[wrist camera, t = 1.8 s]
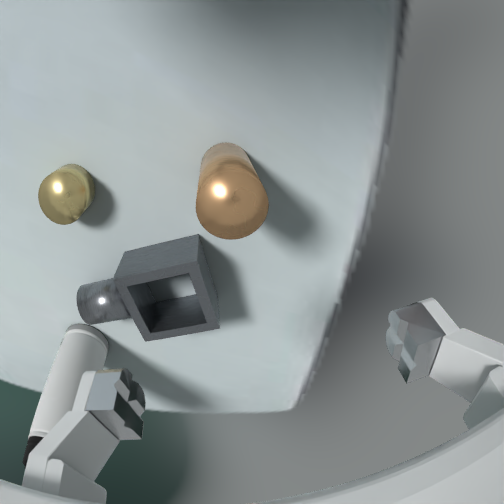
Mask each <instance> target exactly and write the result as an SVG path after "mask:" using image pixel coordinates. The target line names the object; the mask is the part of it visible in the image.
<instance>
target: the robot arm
mask: <svg viewBox="0 0 504 504" xmlns="http://www.w3.org/2000/svg"><path fill="white" fill-rule="evenodd" d="M388 321H389V323H390V325H391V326H390V327H389V328H388V330H387V331H386V344H387V348H388V351H389V353H390V355H391V357H392V358H393V359H395V360H397V361H399V366H398V369H399V371H400V373H401V375H402V376H403V378H404V380H405V382H406V383H410V382H412V381H415V380H417V379H420V378H423V377H426V376H428V375H429V376H430V377H431V378H433V379H434V380H436V381H437V382H439V383H440V384H442V385H444V386H445V387H447V388H448V389H450V390H451V391H453V392H454V393H456V394H458V395H459V396H461V397H463V398H464V399H466V400H467V401H469V402H470V403H471V404H470V406H469V407H468V409H467V410H466V412H465V413H464V416H463V420H464V421H465V423H466V425H467V427H468V429H469V430H467V431H465V432H464V433H462V434H460V435H458V436H457V437H455V438H453V439H451V440H449V441H447V442H445V443H443V444H441V445H439V446H437V447H435V448H433V449H431V450H429V451H427V452H425V453H423V454H421V455H419V456H416V457H414V458H412V459H410V460H407V461H405V462H402V463H400V464H398V465H395V466H393V467H390V468H387V469H385V470H382V471H380V472H377V473H374V474H371V475H368V476H366V477H363V478H359V479H356V480H353V481H350V482H347V483H343V484H340V485H337V486H333V487H330V488H326V489H322V490H318V491H314V492H310V493H306V494H301V495H296V496H291V497H286V498H281V499H275V500H270V501H263V502H257V503H249V504H504V344H501V343H499V342H497V341H494V340H492V339H489V338H487V337H485V336H482V335H480V334H477V333H475V332H472V331H470V330H468V329H465V328H461V329H459V327H458V326H457V325H456V324H455V322H453V320H452V319H451V317H450V316H449V315H448V314H447V313H446V312H445V310H444V309H443V308H442V307H441V305H440V304H439V303H438V302H437V301H436V300H435V299H434V298H432V297H430V298H428V299H425V300H422V301H419V302H416V303H413V304H410V305H407V306H404V307H402V308H398V309H396V310H393V311H391V312H390V313H389V317H388ZM144 411H145V396H144V392H143V390H142V388H141V386H140V385H139V384H138V383H136V382H135V381H133V380H132V374H131V373H130V371H129V370H128V369H126V368H122V369H109V370H96V371H86V372H85V373H84V374H83V375H82V378H81V381H80V385H79V388H78V391H77V395H76V398H75V402H74V405H73V409H72V411H68V412H67V413H66V414H65V415H64V416H63V418H62V419H61V420H60V421H59V422H58V423H57V424H56V425H55V426H54V427H53V428H52V429H51V430H50V432H49V433H48V434H47V435H46V436H45V437H44V438H43V439H42V440H41V441H40V442H39V444H38V445H37V446H36V447H35V448H34V449H33V450H32V451H31V452H30V453H29V457H28V461H27V465H26V469H25V473H24V478H23V483H22V486H19V485H16V484H13V483H10V482H7V481H4V480H1V479H0V504H106V493H107V491H106V490H105V489H104V488H103V487H101V486H99V485H98V484H96V483H95V482H94V480H95V478H96V477H97V475H98V474H99V472H100V471H101V469H102V468H103V466H104V465H105V463H106V461H107V460H108V458H109V457H110V455H111V454H112V452H113V450H114V449H115V448H116V446H117V444H118V443H119V440H133V439H142V431H143V423H144V422H143V420H142V419H141V417H140V416H141V414H142V413H143V412H144Z"/></svg>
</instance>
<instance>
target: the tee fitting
mask: <svg viewBox="0 0 504 504" xmlns="http://www.w3.org/2000/svg"><path fill="white" fill-rule="evenodd" d="M187 273H189V275H190V278H191V280H192V283H193V286H194V289H195V292H196V295H191V296H186V297H181V298H176V299H171V300H166V301H161V302H156V301H155V299H154V297H153V295H152V293H151V290H150V288H149V286H148V284H147V282H150V281H154V280H159V279H164V278H168V277H173V276H177V275H182V274H187ZM77 306H78V310H79V313H80V315H81V317H82V319H83V320H84V321H85V322H86V323H87V324H89V325H92V324H98V323H104V322H110V321H116V320H122V319H127V318H133V320H134V322H135V324H136V326H137V328H138V329H139V331H140V333H141V335H142V337H143V338H144V340H145V341H152V340H158V339H164V338H170V337H176V336H181V335H187V334H192V333H198V332H203V331H208V330H214V329H219V328H220V325H219V308H218V296H217V293H216V290H215V286H214V283H213V280H212V277H211V274H210V270H209V267H208V264H207V261H206V257H205V254H204V251H203V247H202V244H201V241H200V237H199V234H197V235H193V236H189V237H184V238H180V239H176V240H172V241H168V242H163V243H159V244H155V245H151V246H147V247H143V248H139V249H135V250H131V251H126V252H125V253H124V255H123V257H122V259H121V262H120V264H119V266H118V269H117V271H116V273H115V276H114V278H112V279H108V280H103V281H99V282H94V283H90V284H86V285H82V286H80V288H79V289H78V292H77Z"/></svg>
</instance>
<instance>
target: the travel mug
mask: <svg viewBox="0 0 504 504" xmlns="http://www.w3.org/2000/svg"><path fill="white" fill-rule="evenodd" d="M108 349H109V345H108V342H107V340H106V338H105V337H104V335H103V334H102V333H101V332H99V331H98V330H97V329H95V328H93V327H91V326H88V325H85V324H74V325H72V326H70V327H69V328H68V329H67V330H66V333H65V335H64V338H63V340H62V342H61V345H60V347H59V349H58V352H57V354H56V357H55V359H54V362H53V365H52V367H51V370H50V372H49V375H48V378H47V381H46V383H45V386H44V389H43V392H42V395H41V398H40V401H39V404H38V407H37V411H36V413H35V416H34V420H33V423H32V426H31V430H30V434H29V437H28V443H27V444H28V445H27V446H26V450H25V454H24V458H23V464H24V465H25V469H26V465H27V461H28V457H29V453H30V452H31V451H32V450H33V449H34V448H35V447H36V446H37V445H38V444H39V442H40V441H41V440H42V439H43V438H44V437H45V436H46V435H47V434H48V433H49V432H50V430H51V429H52V428H53V427H54V426H55V425H56V424H57V423H58V422H59V421H60V420H61V419H62V418H63V416H64V415H65V414H66V413H67V412H68V411H72V409H73V405H74V402H75V398H76V395H77V391H78V388H79V385H80V381H81V378H82V375H83V374H84V373H85V372H86V371H96V370H103V368H104V364H105V360H106V357H107V353H108Z"/></svg>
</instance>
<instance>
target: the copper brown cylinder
mask: <svg viewBox="0 0 504 504" xmlns="http://www.w3.org/2000/svg"><path fill="white" fill-rule="evenodd" d="M268 206H269V203H268V197H267V194H266V191H265V189H264V187H263V185H262V183H261V181H260V179H259V177H258V175H257V173H256V171H255V169H254V167H253V165H252V163H251V161H250V159H249V157H248V156H247V154H246V152H245V151H244V150H243V149H242V148H241V147H239V146H237V145H235V144H232V143H220V144H217V145H214V146H213V147H211V148H210V149H209V150H208V151H207V152H206V153H205V154H204V156H203V158H202V162H201V168H200V176H199V183H198V191H197V199H196V213H197V217H198V219H199V221H200V223H201V225H202V226H203V227H204V228H205V229H206V230H207V231H208V232H209V233H211V234H212V235H214V236H216V237H219V238H223V239H240V238H243V237H246V236H248V235H250V234H252V233H253V232H255V231H256V230H257V229H258V228H259V227H260V226H261V225H262V223H263V222H264V220H265V218H266V216H267V213H268Z"/></svg>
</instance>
